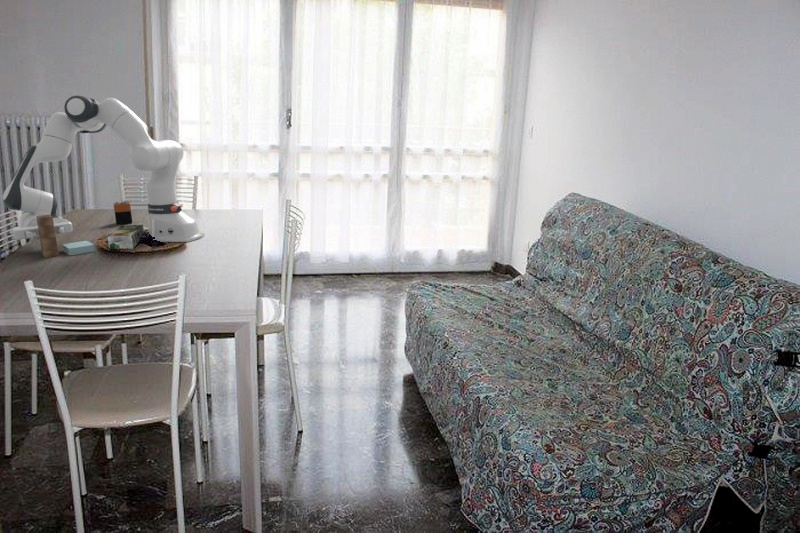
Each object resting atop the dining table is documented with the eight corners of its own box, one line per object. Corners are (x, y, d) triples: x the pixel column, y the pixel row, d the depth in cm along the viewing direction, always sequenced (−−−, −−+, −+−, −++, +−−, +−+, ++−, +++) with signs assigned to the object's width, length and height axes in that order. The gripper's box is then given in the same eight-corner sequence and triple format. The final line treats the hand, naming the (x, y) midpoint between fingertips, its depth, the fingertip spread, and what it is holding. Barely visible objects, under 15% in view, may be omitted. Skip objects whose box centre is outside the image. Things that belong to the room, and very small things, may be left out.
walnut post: (55, 253, 261) (49, 214, 256) (58, 255, 257) (52, 216, 253) (42, 255, 258) (36, 216, 254) (45, 257, 255) (39, 218, 250)
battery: (132, 223, 310) (129, 201, 307) (116, 224, 307) (113, 202, 305) (131, 221, 314) (129, 199, 311) (115, 223, 311) (113, 201, 308)
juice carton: (134, 250, 264) (132, 234, 263) (107, 251, 263) (105, 236, 262) (146, 238, 283) (144, 224, 282) (121, 239, 282) (119, 225, 281)
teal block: (87, 248, 270) (86, 240, 269) (94, 252, 263) (93, 244, 262) (63, 251, 264) (62, 244, 263) (69, 256, 258) (68, 248, 257)
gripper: (7, 223, 258) (14, 229, 248) (65, 215, 270) (75, 221, 260) (9, 239, 260) (17, 246, 249) (67, 231, 272) (77, 237, 262)
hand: (47, 233), depth 255 cm, fingers open, 8 cm apart
